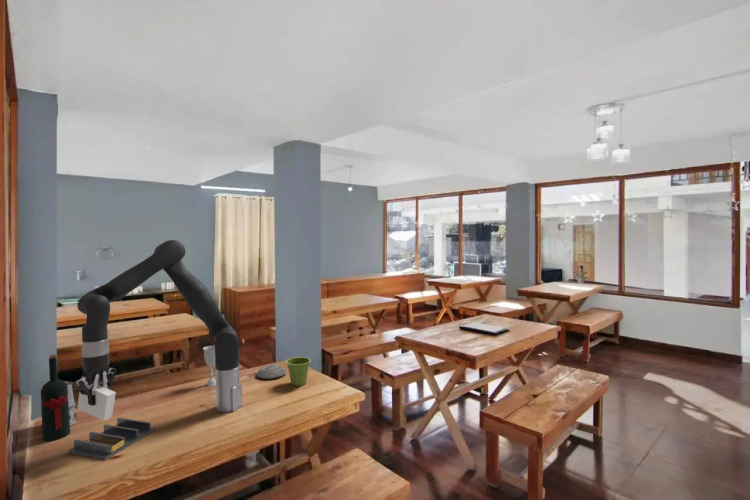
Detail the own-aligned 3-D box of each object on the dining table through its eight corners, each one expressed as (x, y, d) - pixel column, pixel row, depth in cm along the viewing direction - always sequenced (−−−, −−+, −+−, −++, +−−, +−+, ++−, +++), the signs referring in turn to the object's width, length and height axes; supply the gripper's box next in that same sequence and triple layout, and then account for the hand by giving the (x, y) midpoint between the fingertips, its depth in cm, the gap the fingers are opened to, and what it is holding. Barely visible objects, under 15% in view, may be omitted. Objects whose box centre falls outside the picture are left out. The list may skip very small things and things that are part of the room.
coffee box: (77, 422, 152) (75, 382, 152) (59, 430, 146) (57, 388, 146) (62, 419, 155) (60, 379, 155) (43, 427, 149) (41, 385, 149)
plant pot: (316, 382, 190) (315, 360, 189) (296, 390, 181) (295, 366, 181) (301, 377, 198) (300, 355, 197) (281, 384, 189) (280, 361, 188)
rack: (155, 429, 146) (155, 420, 146) (105, 460, 127) (105, 449, 127) (121, 424, 150) (121, 415, 150) (68, 453, 131) (68, 442, 131)
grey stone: (261, 370, 209) (261, 360, 209) (289, 370, 208) (289, 360, 208) (252, 381, 194) (251, 370, 194) (282, 381, 194) (281, 370, 193)
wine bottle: (45, 446, 136) (41, 361, 134) (41, 436, 142) (36, 355, 141) (73, 437, 141) (69, 355, 140) (68, 428, 148) (64, 350, 147)
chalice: (222, 382, 191) (221, 346, 191) (211, 387, 185) (210, 350, 184) (212, 380, 194) (210, 345, 194) (200, 385, 188) (199, 348, 188)
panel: (111, 416, 133) (116, 392, 132) (103, 420, 130) (107, 395, 129) (85, 404, 136) (89, 380, 135) (77, 408, 133) (80, 383, 132)
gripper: (83, 360, 124) (85, 413, 125) (122, 347, 138) (124, 395, 139) (66, 358, 126) (68, 410, 127) (106, 346, 140) (108, 393, 141)
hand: (97, 402), depth 133 cm, fingers closed on panel, 3 cm apart
